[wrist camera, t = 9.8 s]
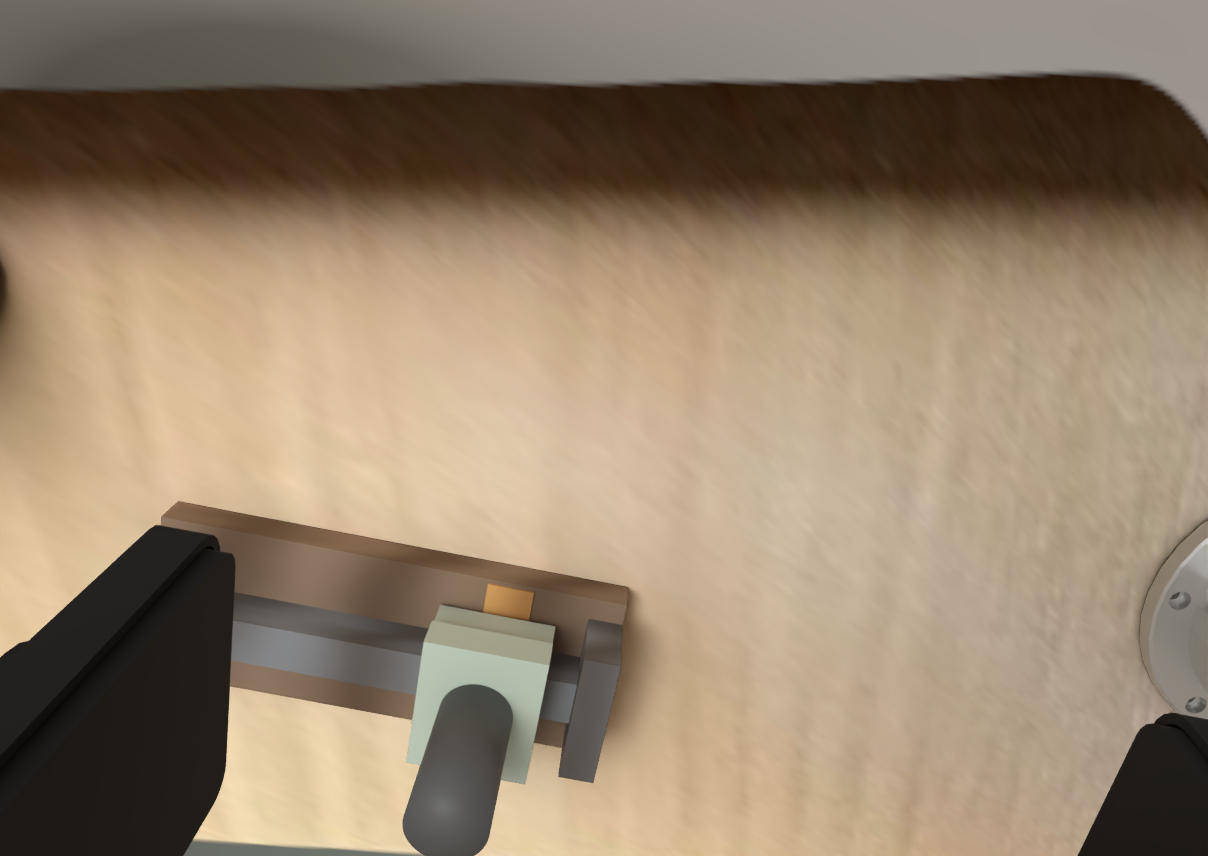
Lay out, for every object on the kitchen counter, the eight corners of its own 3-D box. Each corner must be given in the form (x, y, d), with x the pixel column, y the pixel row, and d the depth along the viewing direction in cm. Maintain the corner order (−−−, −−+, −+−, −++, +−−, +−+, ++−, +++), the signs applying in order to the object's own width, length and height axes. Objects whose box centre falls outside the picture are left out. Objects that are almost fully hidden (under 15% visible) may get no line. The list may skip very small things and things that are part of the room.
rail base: (628, 587, 41) (625, 646, 37) (594, 731, 44) (588, 801, 40) (177, 501, 41) (124, 551, 37) (173, 653, 44) (123, 715, 39)
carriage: (557, 616, 40) (531, 772, 31) (534, 728, 42) (504, 904, 33) (441, 594, 40) (383, 745, 31) (425, 708, 42) (365, 879, 33)
